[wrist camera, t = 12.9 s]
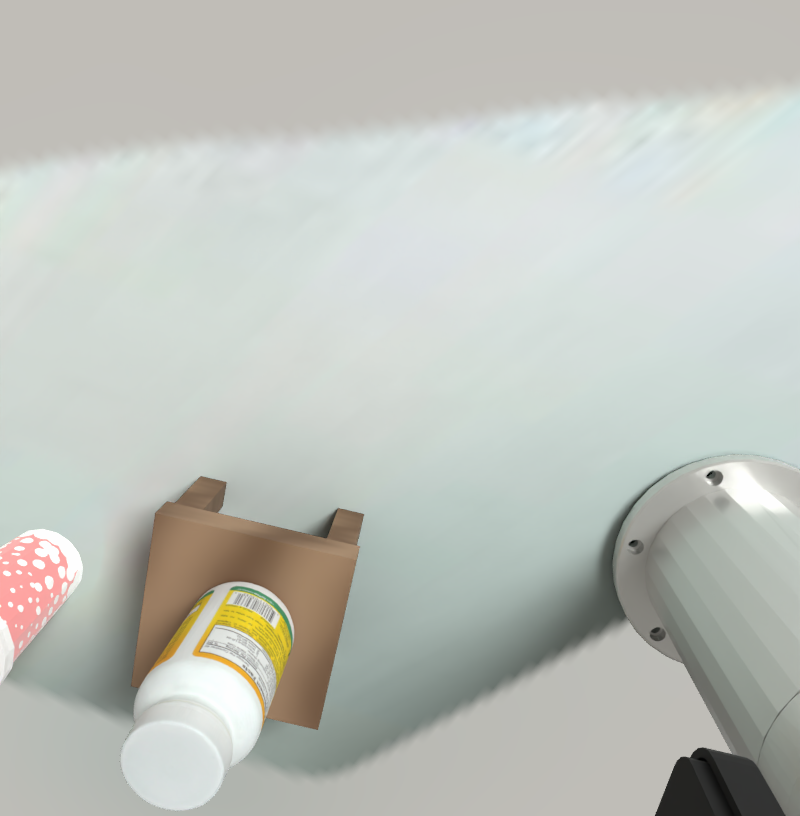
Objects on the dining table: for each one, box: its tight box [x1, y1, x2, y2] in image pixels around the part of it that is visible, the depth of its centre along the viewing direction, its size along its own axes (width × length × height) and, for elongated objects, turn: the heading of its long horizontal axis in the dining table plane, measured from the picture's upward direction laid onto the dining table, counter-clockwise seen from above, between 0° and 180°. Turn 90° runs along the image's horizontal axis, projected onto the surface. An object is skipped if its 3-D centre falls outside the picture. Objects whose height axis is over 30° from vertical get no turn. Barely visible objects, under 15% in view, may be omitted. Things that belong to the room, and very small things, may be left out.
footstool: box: [131, 476, 364, 730], centre depth 39 cm, size 10×10×6 cm
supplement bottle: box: [120, 582, 294, 811], centre depth 31 cm, size 5×5×10 cm
